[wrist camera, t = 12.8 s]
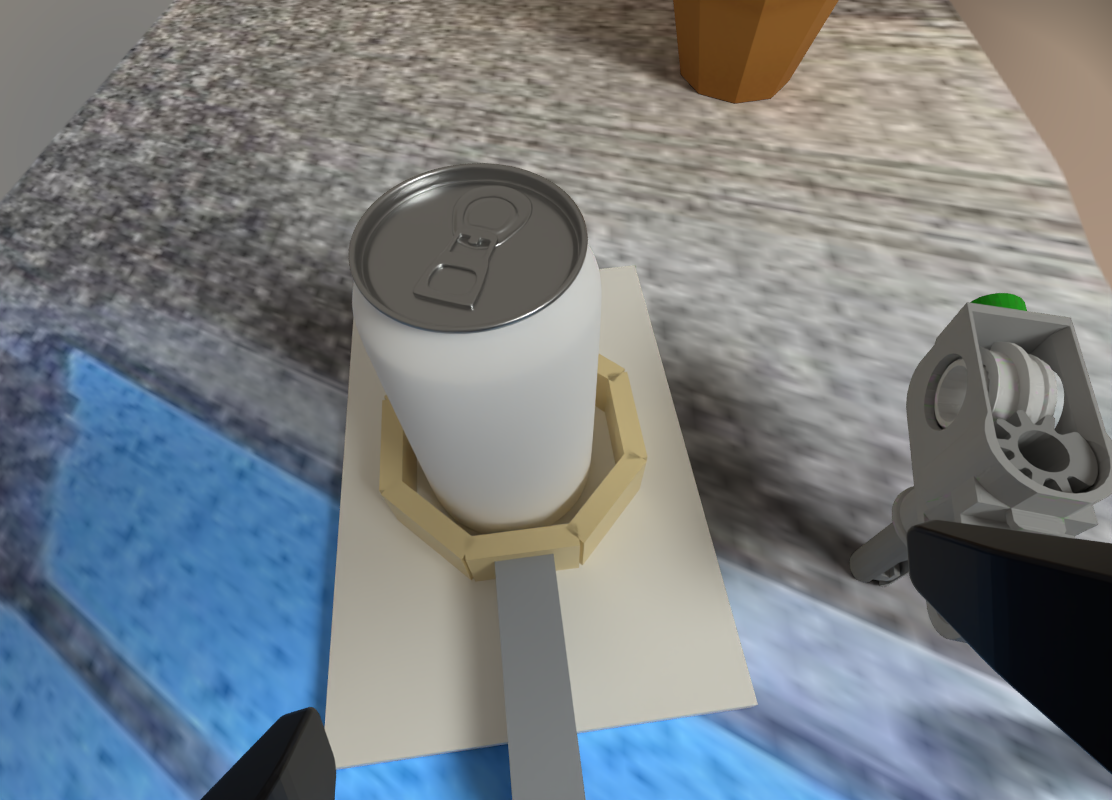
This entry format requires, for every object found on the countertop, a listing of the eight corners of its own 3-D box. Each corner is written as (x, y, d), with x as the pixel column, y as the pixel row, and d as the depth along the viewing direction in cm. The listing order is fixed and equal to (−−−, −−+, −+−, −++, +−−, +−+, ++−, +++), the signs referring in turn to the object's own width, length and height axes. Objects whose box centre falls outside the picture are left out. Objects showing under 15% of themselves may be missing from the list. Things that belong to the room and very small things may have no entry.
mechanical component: (833, 704, 20) (1027, 653, 12) (828, 444, 25) (958, 279, 17) (925, 727, 20) (1195, 690, 11) (900, 457, 25) (1070, 296, 17)
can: (608, 418, 25) (634, 175, 15) (564, 562, 22) (559, 378, 12) (466, 381, 26) (402, 134, 16) (404, 514, 23) (274, 308, 13)
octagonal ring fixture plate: (776, 806, 19) (816, 812, 16) (325, 879, 18) (277, 900, 15) (624, 247, 32) (630, 194, 29) (363, 274, 31) (341, 222, 28)
